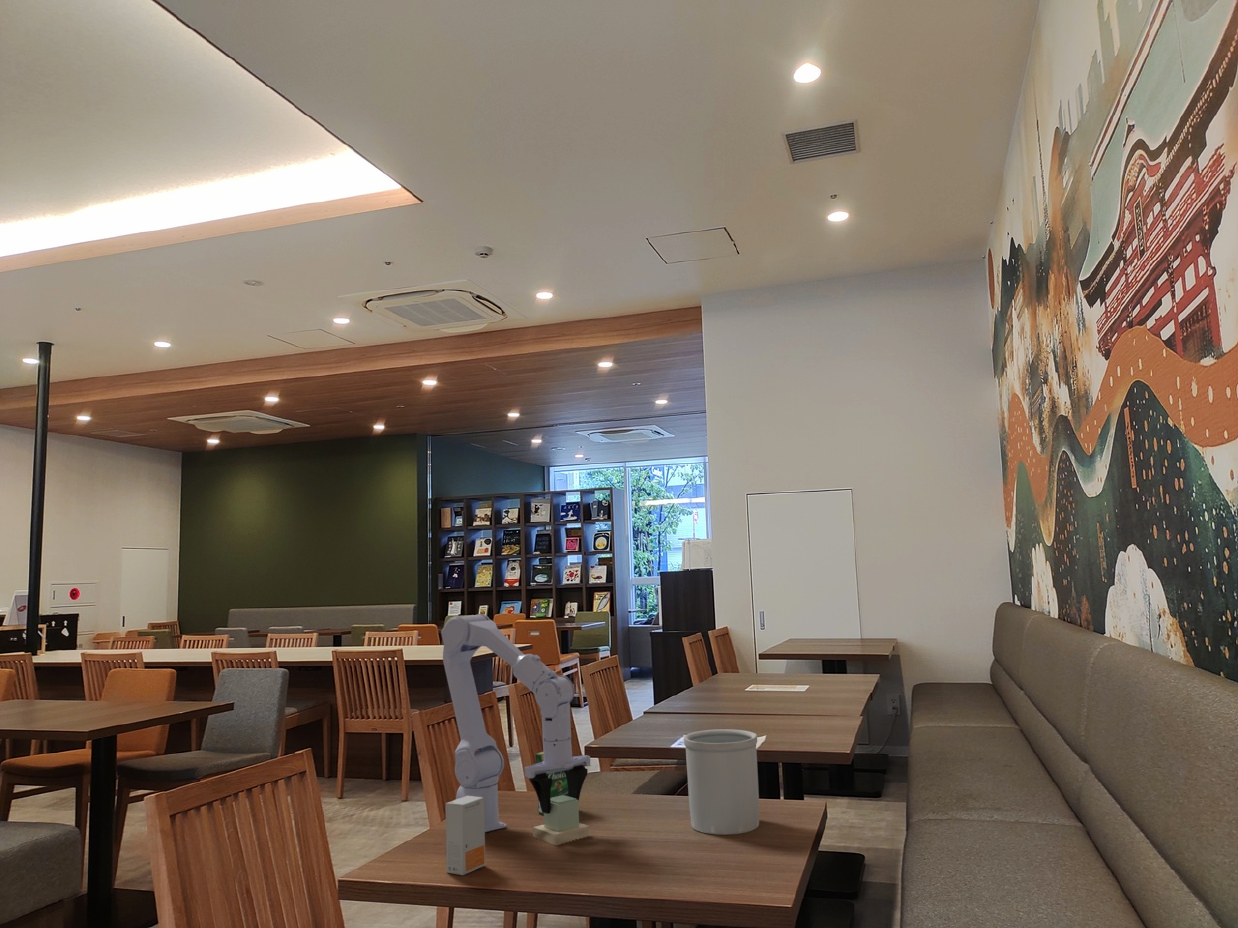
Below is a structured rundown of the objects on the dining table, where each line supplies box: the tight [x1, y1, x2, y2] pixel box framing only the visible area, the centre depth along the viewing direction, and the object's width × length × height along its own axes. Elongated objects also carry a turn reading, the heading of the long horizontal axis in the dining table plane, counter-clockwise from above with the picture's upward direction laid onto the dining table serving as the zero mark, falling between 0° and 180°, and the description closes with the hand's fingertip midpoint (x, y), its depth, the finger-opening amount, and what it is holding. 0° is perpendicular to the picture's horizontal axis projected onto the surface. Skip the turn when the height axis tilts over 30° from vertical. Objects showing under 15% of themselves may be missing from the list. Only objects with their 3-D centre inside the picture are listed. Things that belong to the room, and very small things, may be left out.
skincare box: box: [445, 796, 486, 876], centre depth 157 cm, size 6×4×12 cm
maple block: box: [532, 822, 590, 846], centre depth 174 cm, size 8×8×2 cm
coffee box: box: [535, 751, 568, 816], centre depth 194 cm, size 8×3×13 cm, turn 125°
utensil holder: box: [683, 728, 760, 836], centre depth 176 cm, size 15×15×18 cm
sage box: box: [543, 795, 580, 832], centre depth 174 cm, size 5×5×5 cm
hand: (560, 809), depth 174 cm, fingers open, 6 cm apart
